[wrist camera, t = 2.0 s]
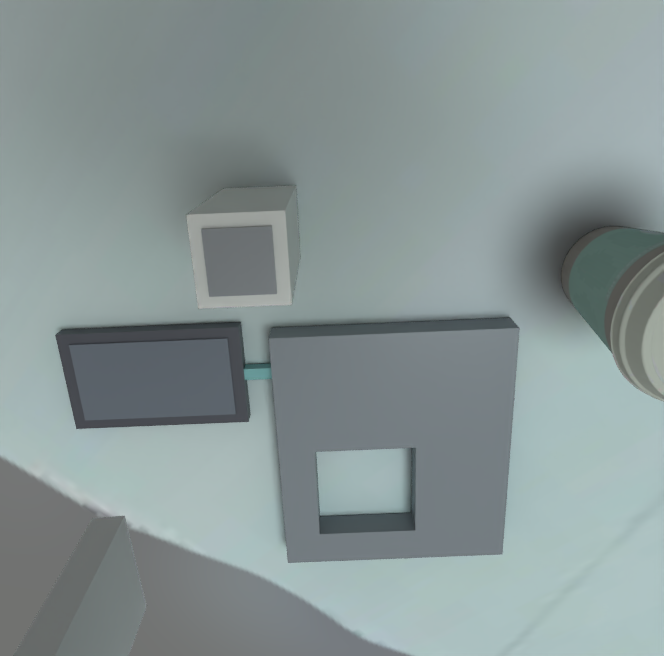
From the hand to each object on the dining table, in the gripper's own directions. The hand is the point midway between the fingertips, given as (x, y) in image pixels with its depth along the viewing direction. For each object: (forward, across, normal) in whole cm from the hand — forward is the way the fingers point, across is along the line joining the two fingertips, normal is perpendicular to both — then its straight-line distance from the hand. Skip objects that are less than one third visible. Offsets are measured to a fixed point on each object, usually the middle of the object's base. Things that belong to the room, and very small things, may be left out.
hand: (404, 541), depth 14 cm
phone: (+25, -10, -6) cm, 28 cm away
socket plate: (+25, +2, -13) cm, 28 cm away
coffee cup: (+25, +16, -1) cm, 30 cm away
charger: (+25, -6, +4) cm, 26 cm away
